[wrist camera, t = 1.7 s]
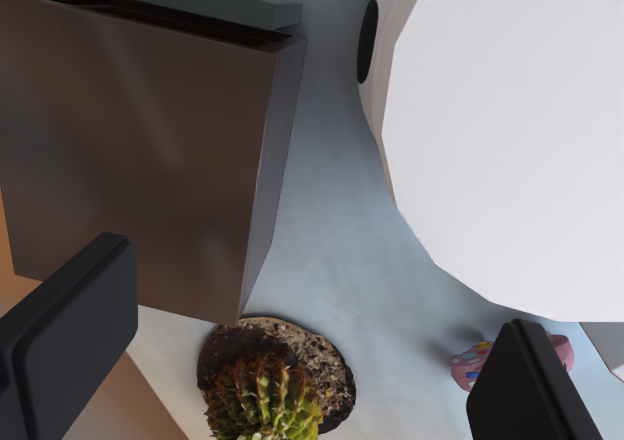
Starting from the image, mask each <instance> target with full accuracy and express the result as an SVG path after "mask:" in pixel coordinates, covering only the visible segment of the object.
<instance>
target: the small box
mask: <svg viewBox="0 0 624 440" xmlns="http://www.w3.org/2000/svg"><path fill="white" fill-rule="evenodd" d="M579 324H580V325H581V327H582V328H583V330H584V331H585V333H586V334H587V336H588V338H589V339H590V341H591V342H592V344H593V345H594V347H595V348H596V350H597V352H598V353H599V355H600V356H601V358H602V360H603V361H604V363H605V365H606V366H607V368H608V369H609V371H610V372H611V373H612V374H613V375H615V376H616V377H617V378H618V379H620V380H621V381H622V382H623V383H624V322H579Z"/></svg>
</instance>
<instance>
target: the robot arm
mask: <svg viewBox="0 0 624 440" xmlns="http://www.w3.org/2000/svg"><path fill="white" fill-rule="evenodd" d="M137 328H138V303H137V264H136V246H135V244H134V243H131V242H130V239H129V237H128V236H126V235H121V234H116V233H112V232H107V231H105V232H102V233H101V234H99V235H98V236H97V237H96V238H95V239H93V240H92V241H91V242H90V243H89V244H88V245H86V246H85V247H84V248H83V249H82V250H80V251H79V252H78V253H77V254H76V255H75V256H73V257H72V258H71V259H70V260H69V261H67V262H66V263H65V264H64V265H63V266H62V267H60V268H59V269H58V270H57V271H56V272H55V273H53V274H52V275H51V276H50V277H49V278H47V279H46V280H45V281H44V282H43V283H42V284H41V285H39V286H38V287H37V288H36V289H34V290H33V291H32V292H31V293H30V294H29V295H27V296H26V297H25V298H24V299H23V300H22V301H20V302H19V303H18V304H17V305H16V306H14V307H13V308H12V309H11V310H10V311H8V313H6V314H5V315H4V316H3V317H1V318H0V440H61V439H62V438H63V437H64V435H65V434H66V432H67V431H68V430H69V428H70V427H71V425H72V424H73V423H74V421H75V420H76V418H77V417H78V416H79V414H80V413H81V411H82V410H83V409H84V407H85V406H86V404H87V403H88V401H89V400H90V399H91V397H92V396H93V395H94V393H95V392H96V390H97V389H98V387H99V386H100V385H101V383H102V382H103V380H104V379H105V378H106V376H107V375H108V373H109V372H110V371H111V369H112V368H113V366H114V365H115V364H116V362H117V361H118V359H119V358H120V357H121V355H122V354H123V352H124V351H125V350H126V348H127V347H128V345H129V344H130V343H131V341H132V340H133V338H134V336H135V334H136V332H137ZM466 411H467V416H468V420H469V424H470V429H471V433H472V437H473V440H603V438H602V437H601V435H600V433H599V431H598V429H597V427H596V425H595V423H594V422H593V420H592V418H591V416H590V414H589V412H588V410H587V408H586V407H585V405H584V403H583V401H582V399H581V397H580V395H579V393H578V392H577V390H576V388H575V386H574V384H573V382H572V380H571V378H570V377H569V375H568V373H567V371H566V369H565V367H564V365H563V363H562V362H561V360H560V358H559V356H558V354H557V352H556V350H555V349H554V347H553V345H552V343H551V341H550V339H549V337H548V335H547V334H546V332H545V330H544V328H543V327H542V325H541V324H539V323H534V322H529V321H525V320H520V319H514V320H513V321H511V323H505V324H504V325H503V326H502V328H501V330H500V332H499V334H498V336H497V338H496V341H495V343H494V345H493V347H492V349H491V351H490V353H489V355H488V357H487V359H486V361H485V363H484V365H483V367H482V369H481V371H480V373H479V375H478V377H477V379H476V381H475V383H474V385H473V387H472V389H471V391H470V394H469V396H468V398H467V403H466Z"/></svg>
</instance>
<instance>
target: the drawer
mask: <svg viewBox="0 0 624 440" xmlns="http://www.w3.org/2000/svg"><path fill="white" fill-rule="evenodd" d="M133 1H138V2H142V3H147V4H151V5H156V6H160V7H164V8H169V9H173V10H178V11H182V12H187V13H191V14H195V15H200V16H204V17H209V18H213V19H218V20H222V21H226V22H231V23H235V24H240V25H244V26H249V27H253V28H257V29H262V30H266V31H272V30H275V29H279V28H282V27H286V26H290V25H293V24H297V23H299V22H300V16H301V10H302V3H300V2H296V1H291V0H133ZM72 6H76V7H81V8H85V9H89V10H94V11H98V12H103V13H107V14H112V15H116V16H120V17H125V18H129V19H134V20H138V21H142V22H147V23H151V24H156V25H160V26H164V27H169V28H173V29H178V30H182V31H187V32H191V33H195V34H200V35H204V36H209V37H213V38H217V39H222V40H226V41H231V42H235V43H239V44H244V45H248V46H253V47H257V48H261V49H263V48H266V47H268V46H270V45H273V44H275V43H277V42H273V41H268V40H264V39H259V38H255V37H251V36H246V35H242V34H237V33H233V32H228V31H224V30H220V29H215V28H211V27H206V26H202V25H198V24H193V23H189V22H184V21H180V20H175V19H171V18H167V17H162V16H158V15H153V14H149V13H145V12H140V11H136V10H131V9H127V8H122V7H118V6H114V5H109V4H100V5H72Z"/></svg>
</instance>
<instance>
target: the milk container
mask: <svg viewBox="0 0 624 440" xmlns="http://www.w3.org/2000/svg"><path fill="white" fill-rule="evenodd" d="M357 79H358V89H359V95H360V100H361V104H362V108H363V111H364V115H365V117H366V120H367V123H368V125H369V128H370V130H371V132H372V134H373V136H374V138H375V140H376V142H377V145H378V149H379V153H380V156H381V161H382V165H383V170H384V174H385V179H386V183H387V188H388V190H389V193H390V196H391V198H392V201H393V203H394V204H395V206H396V207H397V208H398V210H399V211H400V213H401V214H402V216H403V217H404V219H405V220H406V222H407V223H408V225H409V226H410V228H411V229H412V230H413V232H414V233H415V235H416V236H417V238H418V239H419V241H420V242H421V244H422V245H423V247H424V248H425V249H426V251H427V252H428V254H429V255H430V257H431V258H432V260H433V261H434V263H435V264H436V265H437V266H439V267H440V268H442V269H443V270H445V271H446V272H448V273H449V274H450V275H452V276H453V277H455V278H456V279H458V280H459V281H461V282H462V283H464V284H465V285H467V286H468V287H469V288H471V289H472V290H474V291H475V292H477V293H478V294H480V295H481V296H483V297H484V298H486V299H487V300H488V301H490V302H492V303H495V304H499V305H503V306H506V307H510V308H513V309H517V310H520V311H524V312H527V313H531V314H534V315H538V316H541V317H545V318H548V319H552V320H555V321H559V322H624V0H370V1H369V3H368V6H367V10H366V13H365V16H364V19H363V23H362V28H361V32H360V38H359V44H358V54H357Z"/></svg>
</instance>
